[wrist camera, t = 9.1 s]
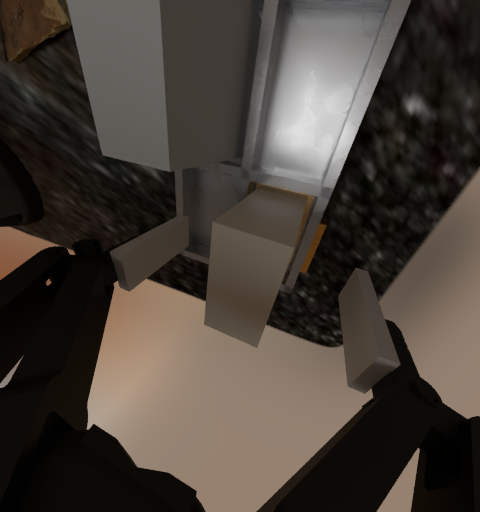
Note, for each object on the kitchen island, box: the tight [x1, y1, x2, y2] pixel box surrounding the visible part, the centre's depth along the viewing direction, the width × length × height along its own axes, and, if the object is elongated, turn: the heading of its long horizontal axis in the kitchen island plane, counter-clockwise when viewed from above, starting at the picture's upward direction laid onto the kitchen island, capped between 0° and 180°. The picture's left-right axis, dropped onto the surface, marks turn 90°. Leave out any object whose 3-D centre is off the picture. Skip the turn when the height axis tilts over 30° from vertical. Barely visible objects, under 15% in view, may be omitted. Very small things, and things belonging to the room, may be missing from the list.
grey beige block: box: [204, 184, 308, 347], centre depth 15 cm, size 4×8×10 cm, turn 170°
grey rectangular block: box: [66, 0, 262, 172], centre depth 11 cm, size 4×8×10 cm, turn 171°
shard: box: [0, 0, 72, 62], centre depth 17 cm, size 11×8×2 cm
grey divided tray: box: [175, 0, 411, 294], centre depth 16 cm, size 14×20×3 cm
